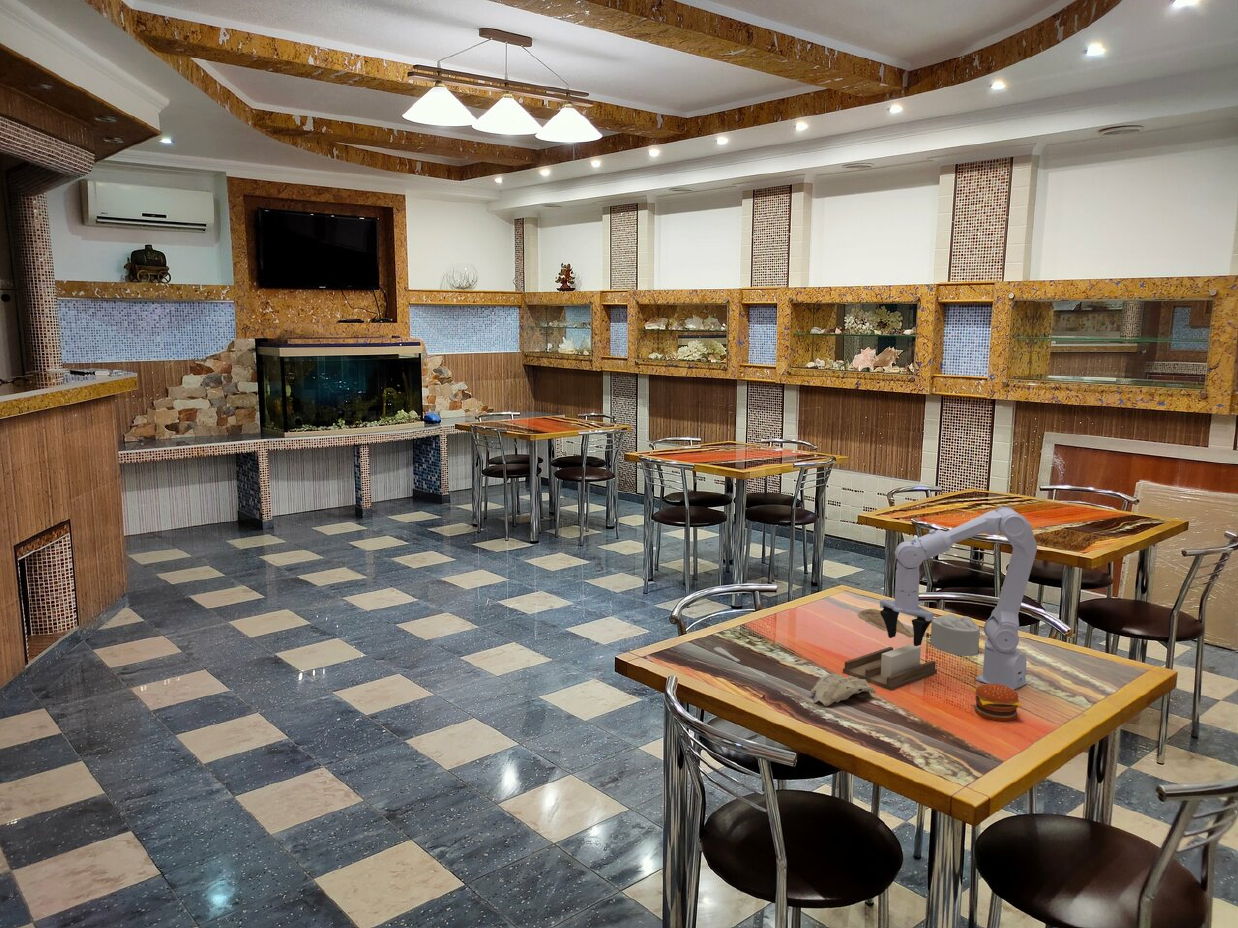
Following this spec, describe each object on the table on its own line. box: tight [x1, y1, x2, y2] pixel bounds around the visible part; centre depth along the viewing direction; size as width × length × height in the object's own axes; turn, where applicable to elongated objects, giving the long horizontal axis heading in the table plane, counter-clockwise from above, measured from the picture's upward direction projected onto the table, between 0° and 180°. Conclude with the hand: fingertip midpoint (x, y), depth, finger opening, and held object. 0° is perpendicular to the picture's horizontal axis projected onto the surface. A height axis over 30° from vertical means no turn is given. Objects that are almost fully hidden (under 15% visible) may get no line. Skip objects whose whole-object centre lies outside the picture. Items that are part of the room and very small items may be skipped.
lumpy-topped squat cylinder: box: [929, 613, 981, 657], centre depth 249 cm, size 10×13×9 cm
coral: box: [810, 673, 877, 707], centre depth 216 cm, size 15×12×5 cm
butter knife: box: [713, 646, 767, 678], centre depth 239 cm, size 1×24×3 cm
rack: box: [842, 646, 938, 691], centre depth 231 cm, size 15×19×3 cm
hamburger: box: [972, 683, 1023, 722], centre depth 206 cm, size 9×10×7 cm
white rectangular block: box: [881, 643, 922, 679], centre depth 228 cm, size 3×12×6 cm, turn 126°
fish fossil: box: [857, 608, 914, 638], centre depth 270 cm, size 26×10×1 cm, turn 18°
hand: (904, 640), depth 228 cm, fingers open, 7 cm apart
